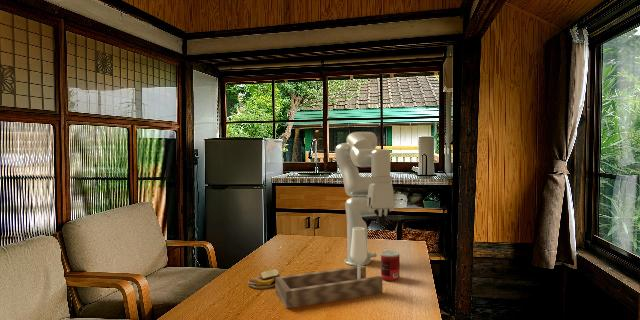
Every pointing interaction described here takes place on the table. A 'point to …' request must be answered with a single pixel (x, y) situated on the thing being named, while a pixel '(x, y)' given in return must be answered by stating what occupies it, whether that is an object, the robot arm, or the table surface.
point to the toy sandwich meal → (264, 280)
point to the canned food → (390, 266)
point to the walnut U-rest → (325, 286)
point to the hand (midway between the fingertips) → (381, 225)
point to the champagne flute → (358, 247)
